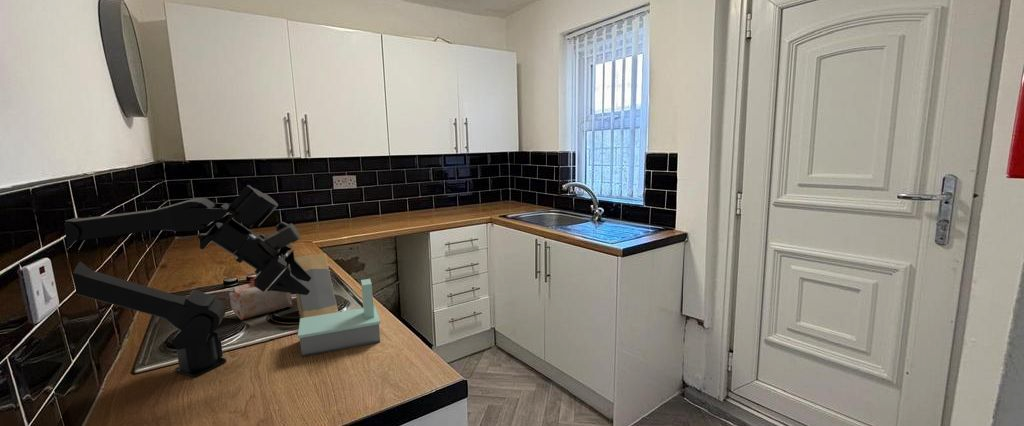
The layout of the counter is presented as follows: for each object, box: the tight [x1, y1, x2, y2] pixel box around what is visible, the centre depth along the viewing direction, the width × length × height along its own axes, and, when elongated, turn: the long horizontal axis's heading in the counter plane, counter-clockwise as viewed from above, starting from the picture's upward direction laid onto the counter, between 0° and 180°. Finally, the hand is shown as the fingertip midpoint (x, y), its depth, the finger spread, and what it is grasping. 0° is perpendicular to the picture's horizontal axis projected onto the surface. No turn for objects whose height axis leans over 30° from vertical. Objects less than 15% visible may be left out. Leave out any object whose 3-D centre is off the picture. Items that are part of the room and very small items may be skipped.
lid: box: [297, 278, 381, 339], centre depth 96 cm, size 17×10×10 cm, turn 113°
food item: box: [228, 276, 294, 321], centre depth 114 cm, size 14×8×10 cm, turn 132°
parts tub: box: [299, 324, 381, 358], centre depth 97 cm, size 16×9×4 cm, turn 113°
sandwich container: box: [295, 252, 339, 318], centre depth 110 cm, size 9×15×15 cm, turn 32°
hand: (309, 286), depth 93 cm, fingers open, 9 cm apart
